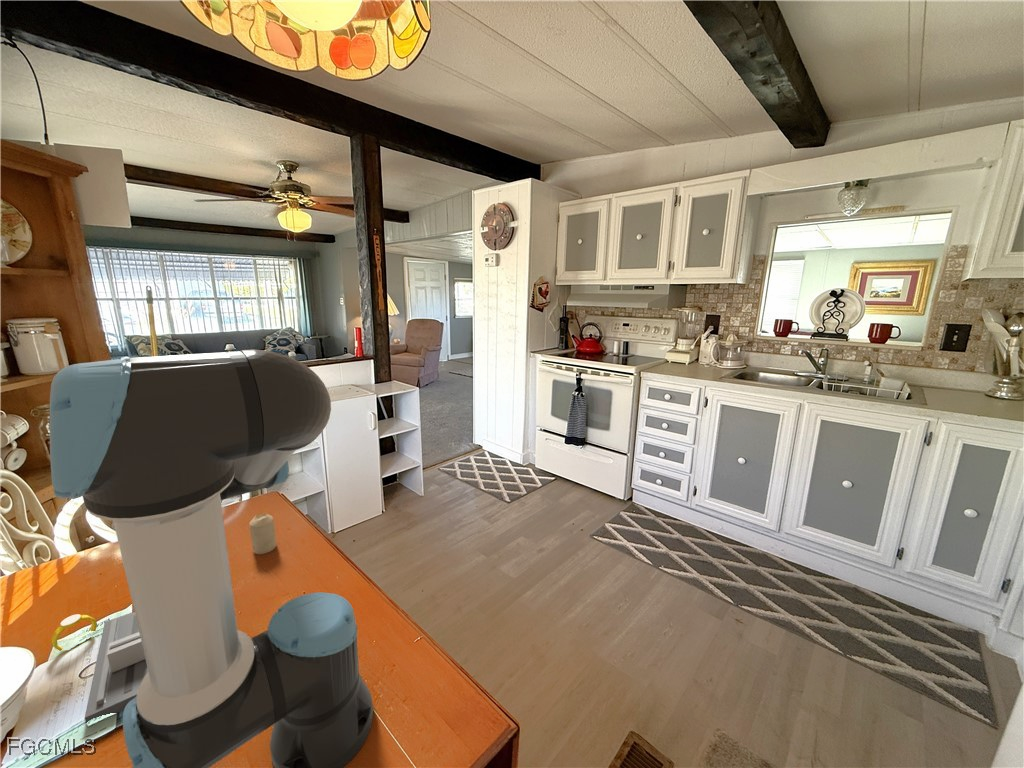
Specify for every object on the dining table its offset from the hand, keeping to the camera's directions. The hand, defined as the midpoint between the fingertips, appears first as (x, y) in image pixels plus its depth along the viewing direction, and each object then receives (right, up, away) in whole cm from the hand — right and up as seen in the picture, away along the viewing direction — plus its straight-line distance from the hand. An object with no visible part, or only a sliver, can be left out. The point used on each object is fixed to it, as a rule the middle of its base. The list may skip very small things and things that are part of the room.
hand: (185, 624), depth 80 cm
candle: (-2, +3, +29) cm, 29 cm away
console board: (-4, -4, -1) cm, 5 cm away
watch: (-21, -3, -1) cm, 21 cm away
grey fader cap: (-5, -3, -6) cm, 8 cm away
